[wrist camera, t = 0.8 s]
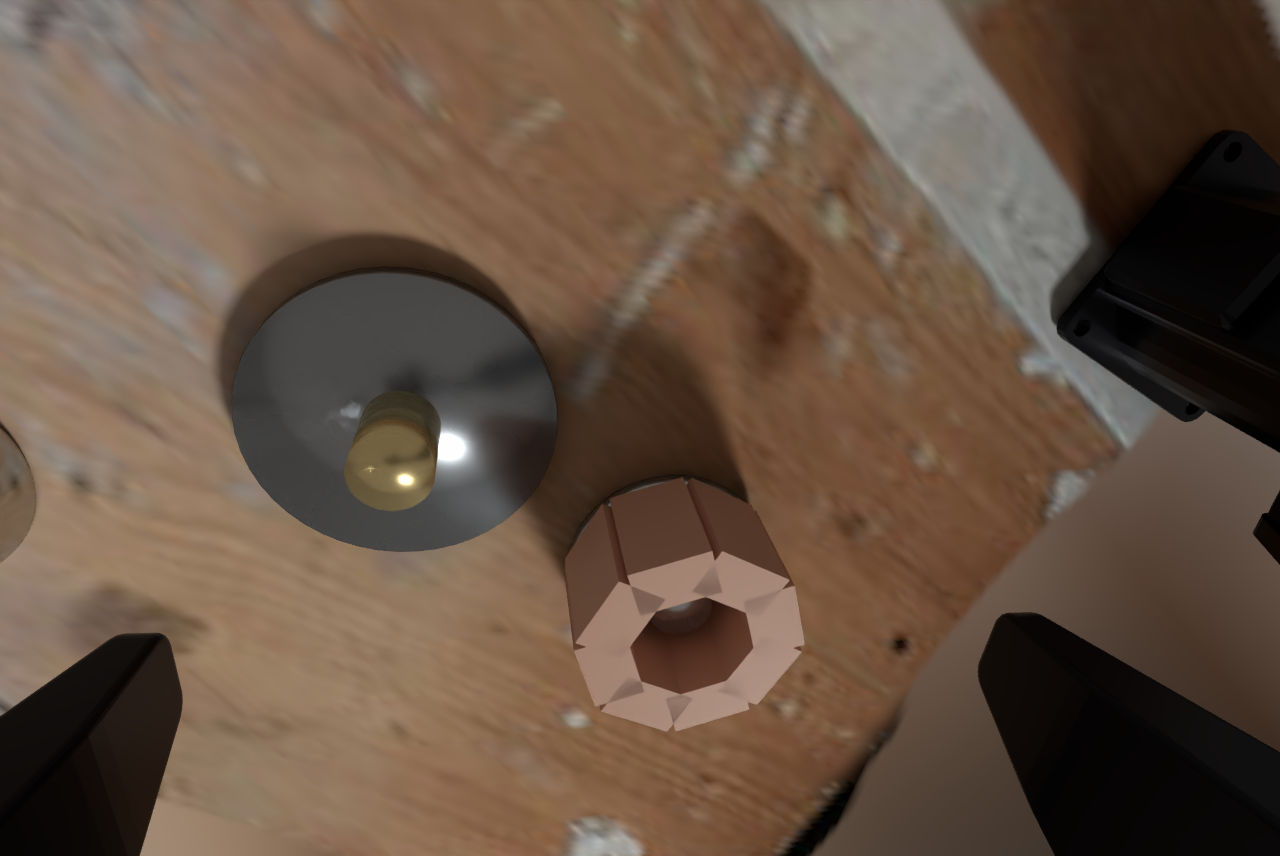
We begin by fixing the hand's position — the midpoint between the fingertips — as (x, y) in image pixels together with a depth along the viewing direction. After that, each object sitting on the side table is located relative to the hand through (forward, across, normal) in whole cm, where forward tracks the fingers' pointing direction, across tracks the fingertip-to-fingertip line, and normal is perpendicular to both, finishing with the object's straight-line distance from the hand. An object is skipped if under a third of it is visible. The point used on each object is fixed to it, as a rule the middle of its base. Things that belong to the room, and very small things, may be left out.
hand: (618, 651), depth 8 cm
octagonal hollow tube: (+12, -4, +8) cm, 15 cm away
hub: (+13, +4, +4) cm, 14 cm away
